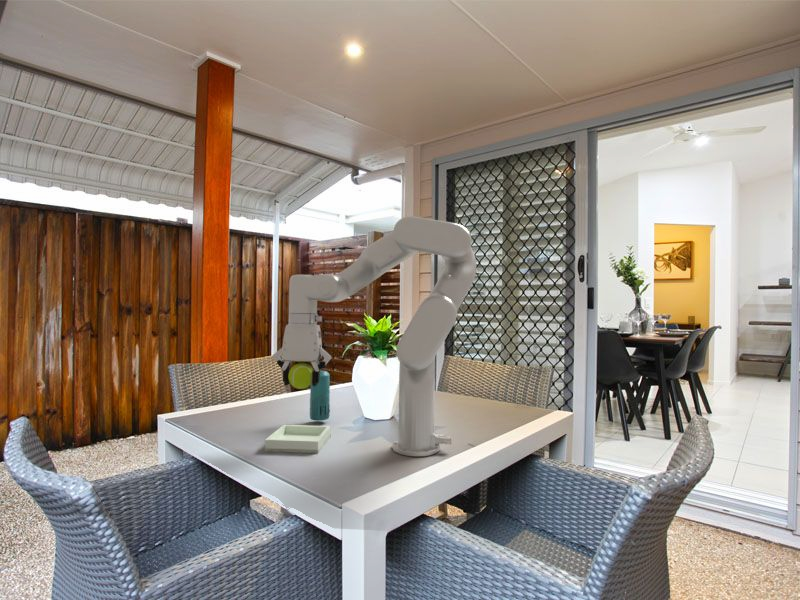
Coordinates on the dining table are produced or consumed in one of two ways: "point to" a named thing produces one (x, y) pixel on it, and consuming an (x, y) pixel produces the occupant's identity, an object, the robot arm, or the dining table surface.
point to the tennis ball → (300, 375)
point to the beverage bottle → (320, 397)
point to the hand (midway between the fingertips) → (301, 384)
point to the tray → (298, 439)
